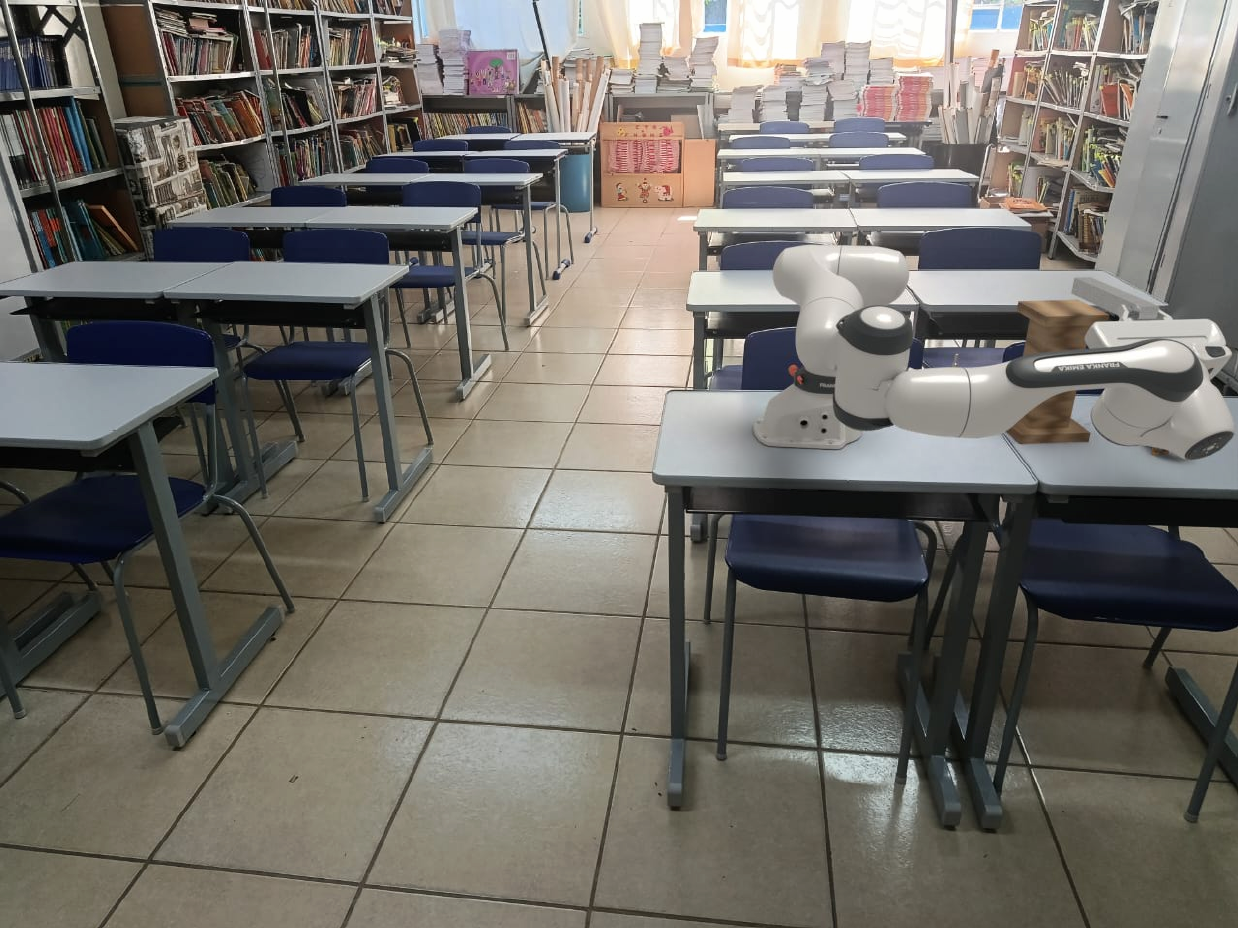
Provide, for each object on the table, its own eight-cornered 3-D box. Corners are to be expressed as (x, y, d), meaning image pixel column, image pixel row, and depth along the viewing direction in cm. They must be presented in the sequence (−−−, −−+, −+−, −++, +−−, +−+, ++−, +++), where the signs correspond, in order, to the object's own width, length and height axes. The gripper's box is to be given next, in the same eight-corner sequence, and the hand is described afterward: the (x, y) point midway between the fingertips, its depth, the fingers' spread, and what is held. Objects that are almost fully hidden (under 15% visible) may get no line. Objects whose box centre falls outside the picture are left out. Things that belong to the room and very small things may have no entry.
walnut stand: (1019, 443, 168) (1043, 318, 157) (990, 418, 180) (1011, 300, 169) (1088, 441, 168) (1117, 316, 157) (1055, 416, 180) (1079, 298, 169)
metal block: (1137, 324, 138) (1141, 306, 137) (1071, 293, 158) (1074, 277, 157) (1155, 324, 138) (1159, 306, 137) (1086, 293, 158) (1090, 277, 156)
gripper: (1094, 382, 135) (1066, 321, 143) (1220, 379, 135) (1185, 318, 143) (1112, 356, 130) (1082, 294, 138) (1243, 353, 130) (1206, 291, 138)
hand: (1136, 307), depth 140 cm, fingers closed on metal block, 3 cm apart
